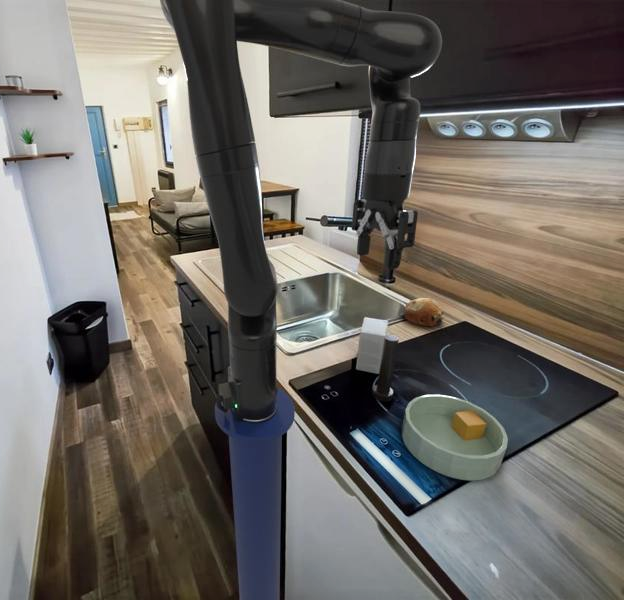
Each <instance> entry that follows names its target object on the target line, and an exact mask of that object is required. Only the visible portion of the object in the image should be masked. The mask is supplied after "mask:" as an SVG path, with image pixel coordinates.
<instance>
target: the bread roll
mask: <svg viewBox="0 0 624 600" xmlns="http://www.w3.org/2000/svg"><path fill="white" fill-rule="evenodd" d="M403 316H404V318H405V319H406V320H407V321H409V322H410V323H413V324H415V325H417V326H418V325H420V326H423V327H432V326H437V325H439V324H441V322H442V321H443V320H444V319H445V317H444V311H443V309H442V307H441V306H440V304H439V303H438V302H437V301H436V300H434V299H431V298H428V297H418V298H414V299H412V300H410V301H409V302H408V303H406V305H405V307H404V309H403Z"/></svg>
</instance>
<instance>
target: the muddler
mask: <svg viewBox="0 0 624 600" xmlns="http://www.w3.org/2000/svg"><path fill="white" fill-rule="evenodd" d="M399 339H400V338H399V337H398V336H397V335H395V334H386V335H385V337H384V343H383V350H382V356H381V363H380V370H379V374H378V378H377V384H375V385H374V386H373V387H372V394H371V395H372V397H373V398H374V399H375V400H377V401H379V402H382V403H383V402H385V403H388V402H390V401H392V399H393V398H394V397H393V396H394V390H393V388H391V387H392V381H393V380H392V379H393V375H394V368H395V363H396V357H397V352H398V351H397V350H398V345H399Z"/></svg>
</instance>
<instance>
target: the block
mask: <svg viewBox="0 0 624 600" xmlns="http://www.w3.org/2000/svg"><path fill="white" fill-rule="evenodd" d="M451 427H452V428H453V429H454V430H455V431H456V433H457V434H458V435H459V436H460V437H461V438H462V439H463V440H473V439H481V438H482V437H483V434H484V430H485V427H486V423H485V422H484V421H483V420H482V419H481V418H480V417H479V416H478V415H477V414H476V413H475V412H474V411H473V410H471V411H463V412H455V414H454V418H453V421H452V425H451Z"/></svg>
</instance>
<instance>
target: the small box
mask: <svg viewBox="0 0 624 600" xmlns="http://www.w3.org/2000/svg"><path fill="white" fill-rule="evenodd" d="M388 327H389V320H386V319H385V320H384V319H378V318H372V317H367V316H364V317H363V320H362V325H361V328H360V333H359V339H358V346H357V347H358V349H357V355H356V356H357V357H356V365H355V370H357V371H361V372H362V371H363V372H366V373H371V374H377V375H379V370H380V363H381V356H382V350H383V343H384V337H385V335H388Z"/></svg>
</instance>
